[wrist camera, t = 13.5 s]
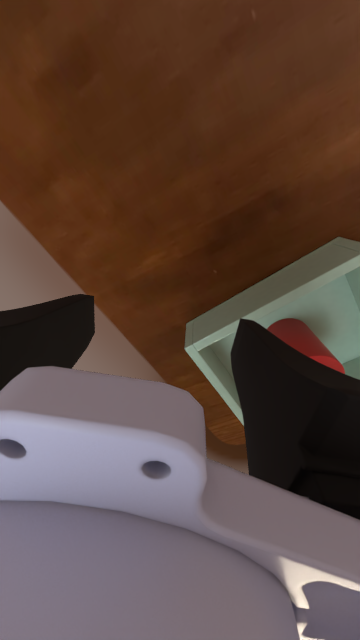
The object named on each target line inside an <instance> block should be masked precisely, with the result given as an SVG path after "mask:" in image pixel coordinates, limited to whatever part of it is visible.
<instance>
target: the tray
mask: <svg viewBox="0 0 360 640" xmlns="http://www.w3.org/2000/svg"><path fill="white" fill-rule="evenodd" d="M240 318H242V319H248V320H253V321H255V322H257V323H258V324H260V325H261V326H263V327H264V328H266V329H267V328H268V327H269V326H270V325H271V324H273V323H274V322H276V321H278V320H281V319H286V318H293V319H298V320H300V321H302V322H304V323H305V324H306V325H307V326H308V327H309V328H310V330H311V331H312V332H313V333H314V334H315V335H316V336H317V337H318V338H319V340H320V341H321V342H322V343H323V344H324V345H325V346H326V347H327V348H328V350H329V351H330V352H331V353H332V354H333V355H334V356H335V357H336V358H337V360H338V361H339V362H340V363H341V364H342V366H343V367H344V370H345V374H346V375H348V376H351V377H353V378H356V379H359V380H360V242H358V241H354V240H350V239H346V238H342V237H337V238H335V239H334V240H332V241H330V242H328V243H327V244H325V245H323V246H321V247H320V248H318V249H316V250H314V251H313V252H311V253H309V254H307V255H306V256H304V257H302V258H300V259H299V260H297V261H295V262H293V263H292V264H290V265H288V266H286V267H285V268H283V269H281V270H279V271H278V272H276V273H274V274H272V275H271V276H269V277H267V278H265V279H264V280H262V281H260V282H258V283H257V284H255V285H253V286H251V287H250V288H248V289H246V290H244V291H243V292H241V293H239V294H237V295H236V296H234V297H232V298H230V299H229V300H227V301H225V302H223V303H222V304H220V305H218V306H216V307H215V308H213V309H211V310H209V311H208V312H206V313H204V314H202V315H200V316H199V317H197V318H195V319H193V320H192V321H190V322H188V323H186V335H185V348H184V349H185V350H186V351H187V353H188V354H189V355H190V357H191V358H192V359H193V361H194V362H195V363H196V364H197V366H198V367H199V368H200V370H201V371H202V372H203V374H204V375H205V376H206V377H207V379H208V380H209V381H210V383H211V384H212V385H213V387H214V388H215V389H216V390H217V392H218V393H219V394H220V396H221V397H222V398H223V400H224V401H225V402H226V403H227V405H228V406H229V407H230V409H231V410H232V411H233V412H234V414H235V415H236V416H237V418H238V419H239V420H240V422H241V423H242V424H243V425H244V422H243V415H242V410H241V405H240V401H239V397H238V393H237V389H236V385H235V381H234V377H233V373H232V367H231V354H230V353H231V349H232V346H233V342H234V338H235V335H236V331H237V328H238V324H239V321H240Z"/></svg>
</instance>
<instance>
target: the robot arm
mask: <svg viewBox="0 0 360 640" xmlns="http://www.w3.org/2000/svg"><path fill="white" fill-rule="evenodd" d="M94 326H95V324H94V296H90V295H84V294H78V295H72V296H68V297H64V298H60V299H56V300H52V301H49V302H45V303H41V304H36V305H32V306H28V307H23V308H18V309H13V310H7V311H0V640H360V380H359V379H356V378H353V377H351V376H348V375H346V374H343V373H341V372H339V371H336V370H334V369H332V368H330V367H328V366H325V365H323V364H321V363H319V362H317V361H315V360H313V359H312V358H310V357H308V356H306V355H304V354H302V353H301V352H299V351H297V350H296V349H294V348H293V347H291V346H290V345H288V344H286V343H285V342H284V341H282V340H281V339H279V338H278V337H276V336H275V335H274V334H272V333H271V332H270V331H268V330H267V329H266V328H264V327H263V326H261V325H260V324H258V323H257V322H255V321H253V320H248V319H242V318H240V321H239V324H238V328H237V331H236V335H235V338H234V342H233V346H232V349H231V353H230V354H231V367H232V373H233V377H234V381H235V385H236V389H237V393H238V397H239V401H240V405H241V410H242V415H243V422H244V429H245V437H246V447H247V457H248V468H249V475H248V474H245V473H243V472H240V471H238V470H236V469H233V468H231V467H228V466H226V465H223V464H221V463H219V462H216V461H213V460H211V459H209V458H206V434H205V420H204V411H203V407H202V406H201V405H200V404H199V403H198V402H197V401H196V399H195V398H194V397H193V396H192V395H191V394H190V393H189V392H188V391H185V390H182V389H180V388H177V387H174V386H171V385H169V384H166V383H162V382H156V381H149V380H142V379H136V378H129V377H122V376H115V375H109V374H102V373H95V372H88V371H82V370H75V369H72V367H73V366H74V365H75V363H76V362H77V361H78V359H79V358H80V357H81V355H82V354H83V352H84V351H85V350H86V348H87V347H88V345H89V343H90V341H91V339H92V337H93V335H94V333H95V327H94Z"/></svg>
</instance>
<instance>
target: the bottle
mask: <svg viewBox="0 0 360 640" xmlns="http://www.w3.org/2000/svg"><path fill="white" fill-rule="evenodd" d="M267 330H268V331H270V332H271V333H272V334H274V335H275V336H276V337H278V338H279V339H281V340H282V341H284V342H285V343H286V344H288V345H290V346H291V347H293V348H294V349H296V350H297V351H299V352H301V353H302V354H304V355H306V356H308V357H310V358H312V359H313V360H315V361H317V362H319V363H321V364H323V365H325V366H328V367H330V368H332V369H334V370H336V371H339V372H341V373H343V374H345V370H344V367H343V366H342V364H341V363H340V362H339V361H338V360H337V358H336V357H335V356H334V355H333V354H332V353H331V352H330V351H329V350H328V348H327V347H326V346H325V345H324V344H323V343H322V342H321V341H320V340H319V338H318V337H317V336H316V335H315V334H314V333H313V332H312V331H311V330H310V328H309V327H308V326H307V325H306V324H305V323H304V322H302V321H300V320H298V319H293V318H286V319H281V320H278V321H276V322H274V323H273V324H271V325H270V326H269V327H268V328H267Z"/></svg>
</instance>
